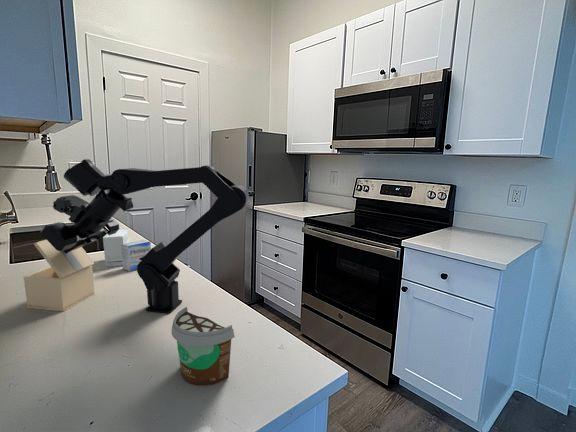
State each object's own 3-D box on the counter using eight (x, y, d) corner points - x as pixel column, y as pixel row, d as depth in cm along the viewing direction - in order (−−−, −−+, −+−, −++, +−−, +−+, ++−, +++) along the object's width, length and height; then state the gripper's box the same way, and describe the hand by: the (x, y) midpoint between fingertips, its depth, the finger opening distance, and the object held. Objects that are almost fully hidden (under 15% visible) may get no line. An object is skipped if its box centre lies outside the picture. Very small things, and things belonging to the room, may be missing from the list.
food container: (158, 372, 56) (155, 319, 55) (187, 354, 61) (184, 305, 60) (207, 402, 50) (205, 343, 48) (235, 380, 55) (234, 325, 53)
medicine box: (129, 272, 104) (127, 246, 103) (122, 269, 107) (120, 243, 105) (152, 265, 111) (150, 241, 109) (145, 263, 113) (143, 239, 112)
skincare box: (112, 257, 118) (110, 229, 116) (131, 256, 120) (129, 229, 118) (104, 267, 108) (101, 236, 107) (125, 265, 110) (123, 235, 108)
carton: (94, 294, 87) (92, 266, 86) (63, 311, 77) (60, 279, 76) (62, 291, 89) (58, 263, 87) (27, 307, 79) (23, 276, 77)
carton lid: (92, 265, 86) (94, 263, 85) (60, 278, 76) (63, 276, 76) (68, 234, 85) (71, 232, 85) (33, 244, 75) (36, 242, 75)
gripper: (105, 182, 86) (72, 220, 89) (42, 188, 67) (4, 236, 71) (135, 212, 86) (101, 250, 89) (80, 226, 68) (40, 273, 71)
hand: (65, 251), depth 80 cm, fingers closed, pressing on carton lid
